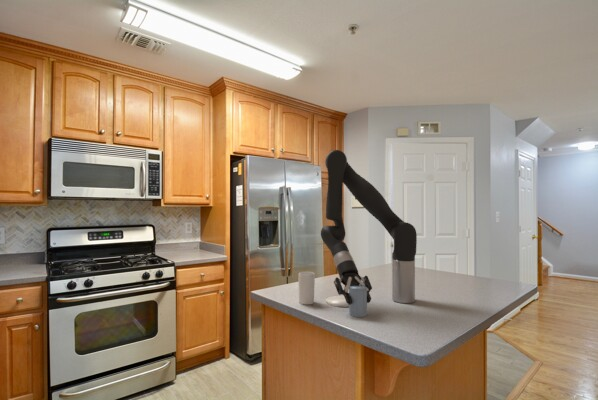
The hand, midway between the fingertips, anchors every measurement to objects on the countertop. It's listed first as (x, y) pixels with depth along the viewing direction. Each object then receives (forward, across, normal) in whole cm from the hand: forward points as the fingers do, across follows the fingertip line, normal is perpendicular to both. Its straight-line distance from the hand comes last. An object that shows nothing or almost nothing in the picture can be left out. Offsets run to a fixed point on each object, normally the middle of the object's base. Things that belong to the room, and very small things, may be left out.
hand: (360, 302), depth 118 cm
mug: (-13, -12, +20) cm, 27 cm away
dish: (-9, +1, +16) cm, 18 cm away
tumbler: (+2, 0, +4) cm, 5 cm away
